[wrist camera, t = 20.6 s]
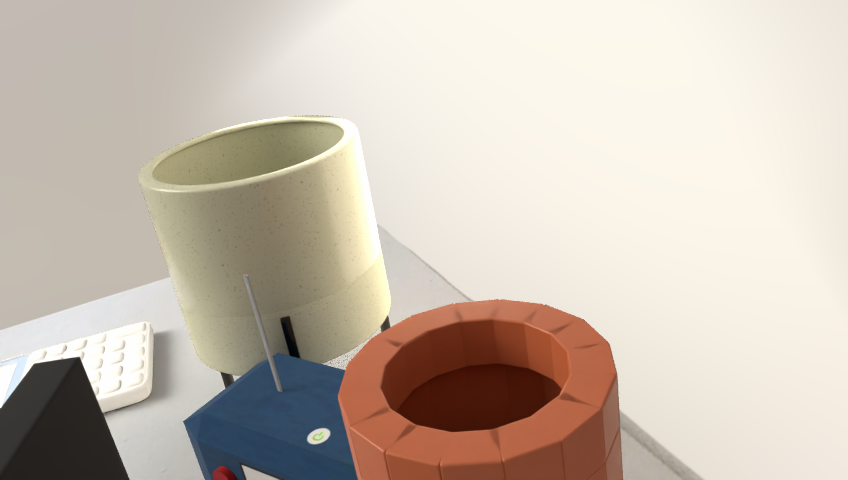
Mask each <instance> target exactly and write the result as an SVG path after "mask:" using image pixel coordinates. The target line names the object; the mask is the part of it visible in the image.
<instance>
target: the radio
mask: <svg viewBox="0 0 848 480" xmlns="http://www.w3.org/2000/svg"><path fill="white" fill-rule="evenodd" d="M243 277H244V280H245V283H246V287H247V290H248V293H249V297H250V300H251V303H252V307H253V310H254V313H255V317H256V320H257V323H258V327H259V330H260V333H261V337H262V340H263V343H264V346H265V350H266V353H267V356H268V358H267V359H265V360H264V361H262V362H260V363H258V364H257V365H255V366H254V367H253V368H252V369H250V370H249V371H248V372H246V373H245V374H244V375H243V376H241V377H240V378H239V379H237V380H236V381H235V382H234V383H232V384H231V385H230V386H228V387H227V388H226V389H225V390H223V391H222V392H221V393H219V394H218V395H217V396H215V397H214V398H213V399H212V400H210V401H209V402H208V403H206V404H205V405H204V406H203V407H201V408H200V409H199V410H197V411H196V412H195V413H194V414H192V415H191V416H190V417H188V418H187V419H186V420H185V421H183V422H184V424H185V427H186V430H187V433H188V435H189V438H190V441H191V443H192V446H193V449H194V451H195V454H196V457H197V459H198V462H199V465H200V468H201V470H202V473H203V476H204V478H205V480H358V478H357V474H356V470H355V466H354V461H353V457H352V453H351V449H350V445H349V441H348V437H347V433H346V429H345V425H344V421H343V417H342V413H341V409H340V404H339V400H338V394H339V391H340V387H341V384H342V381H343V377H344V374H345V371H346V370H342V369H338V368H334V367H330V366H327V365H323V364H319V363H315V362H311V361H307V360H304V359H300V358H296V357H292V356H288V355H285V354H281V353H277V354H275V355H273V356H272V353H271V350H270V346H269V343H268V340H267V336H266V333H265V330H264V326H263V323H262V320H261V316H260V313H259V309H258V306H257V303H256V299H255V296H254V293H253V289H252V286H251V283H250V279H249V276H248V275H246V274H244V275H243Z"/></svg>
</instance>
